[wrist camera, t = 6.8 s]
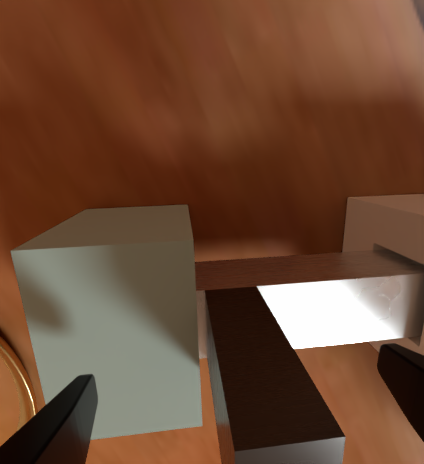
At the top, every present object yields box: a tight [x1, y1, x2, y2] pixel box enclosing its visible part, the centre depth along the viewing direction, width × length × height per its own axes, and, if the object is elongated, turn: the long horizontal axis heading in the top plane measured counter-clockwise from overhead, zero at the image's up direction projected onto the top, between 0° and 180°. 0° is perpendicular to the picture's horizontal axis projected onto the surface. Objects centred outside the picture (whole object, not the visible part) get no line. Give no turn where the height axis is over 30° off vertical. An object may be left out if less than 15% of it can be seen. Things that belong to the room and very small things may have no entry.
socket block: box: [11, 205, 202, 440], centre depth 13 cm, size 6×8×7 cm
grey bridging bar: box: [195, 249, 424, 464], centre depth 10 cm, size 15×3×9 cm, turn 91°
